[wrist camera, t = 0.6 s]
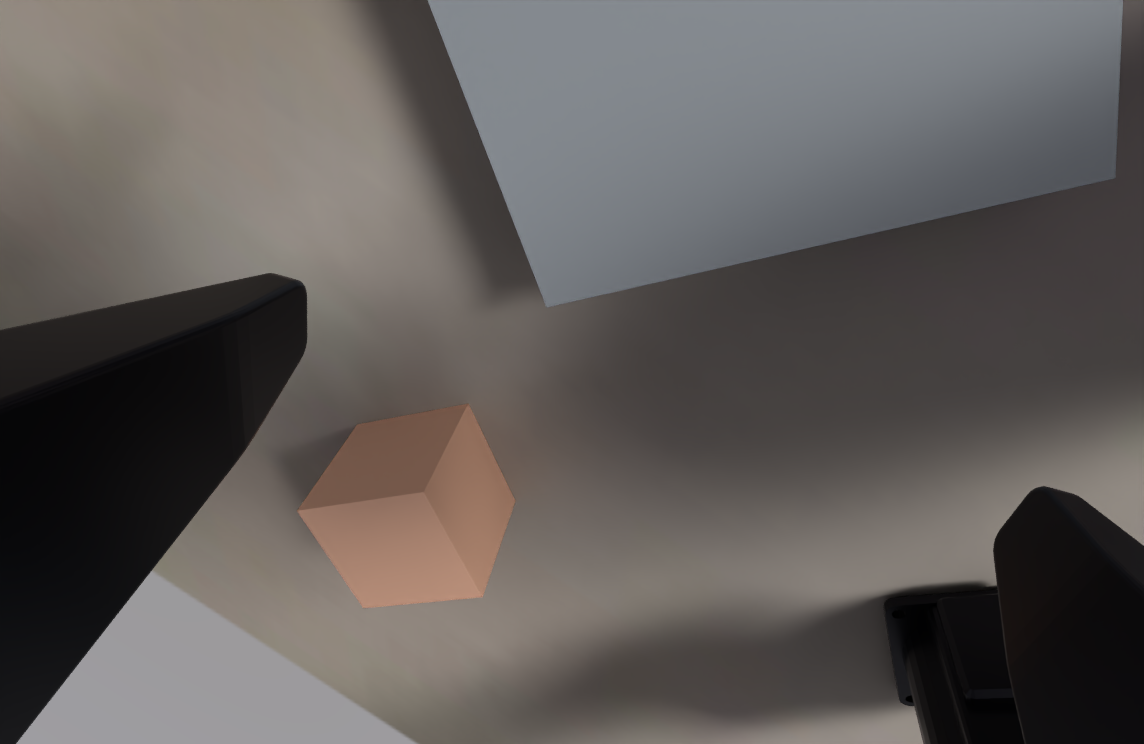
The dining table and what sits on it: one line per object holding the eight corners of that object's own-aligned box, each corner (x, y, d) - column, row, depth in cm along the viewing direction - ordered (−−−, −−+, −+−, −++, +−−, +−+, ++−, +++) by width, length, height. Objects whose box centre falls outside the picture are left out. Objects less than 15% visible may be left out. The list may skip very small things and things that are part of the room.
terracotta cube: (516, 499, 29) (482, 597, 25) (410, 514, 31) (363, 608, 27) (469, 402, 27) (423, 491, 23) (358, 423, 29) (296, 510, 24)
